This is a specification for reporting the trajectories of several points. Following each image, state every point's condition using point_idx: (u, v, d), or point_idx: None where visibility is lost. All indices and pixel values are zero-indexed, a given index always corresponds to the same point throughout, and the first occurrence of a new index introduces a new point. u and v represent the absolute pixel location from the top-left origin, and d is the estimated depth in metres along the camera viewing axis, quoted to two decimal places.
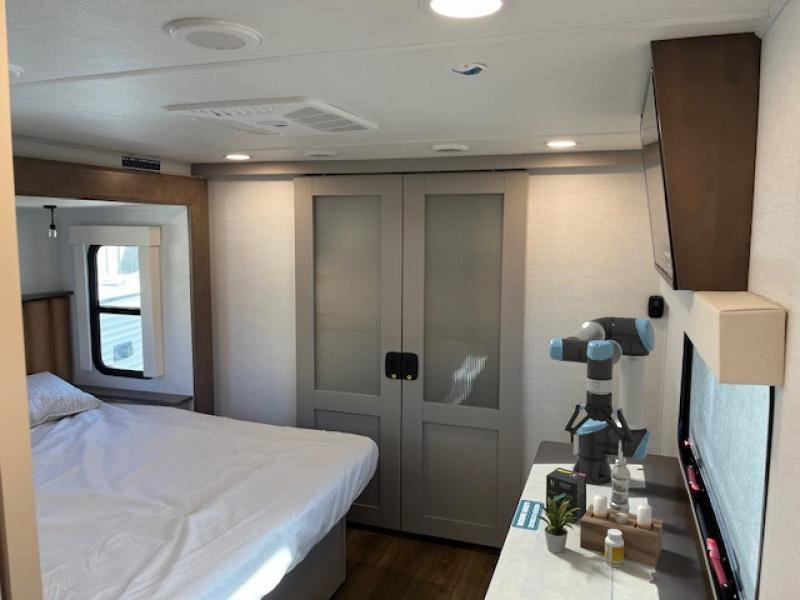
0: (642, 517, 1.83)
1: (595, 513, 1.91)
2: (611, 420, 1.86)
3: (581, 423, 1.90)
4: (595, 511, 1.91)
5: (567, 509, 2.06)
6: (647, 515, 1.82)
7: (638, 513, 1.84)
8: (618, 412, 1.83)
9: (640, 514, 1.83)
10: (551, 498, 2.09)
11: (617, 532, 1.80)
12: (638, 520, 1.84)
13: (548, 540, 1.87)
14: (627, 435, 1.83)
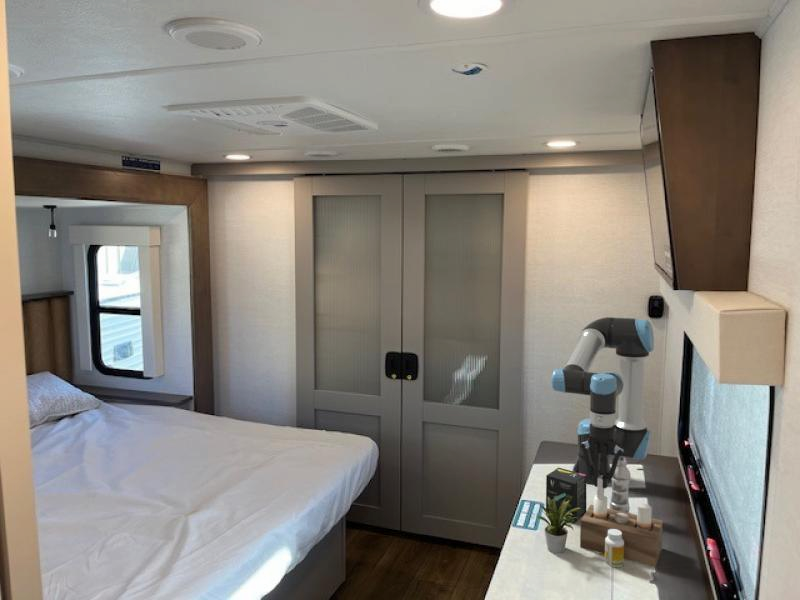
0: (642, 517, 1.83)
1: (595, 513, 1.91)
2: (607, 456, 1.88)
3: (596, 462, 1.89)
4: (595, 511, 1.91)
5: (567, 509, 2.06)
6: (647, 515, 1.82)
7: (638, 513, 1.84)
8: (619, 452, 1.85)
9: (640, 514, 1.83)
10: (551, 498, 2.09)
11: (617, 532, 1.80)
12: (638, 520, 1.84)
13: (548, 540, 1.87)
14: (611, 472, 1.87)
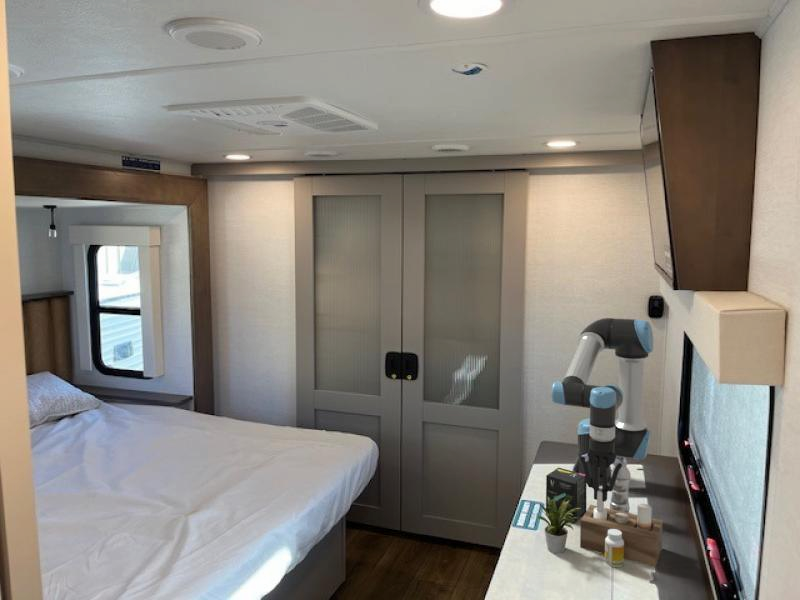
0: (642, 517, 1.83)
1: None
2: (607, 469, 1.88)
3: (596, 475, 1.90)
4: None
5: (567, 509, 2.06)
6: (647, 515, 1.82)
7: (638, 513, 1.84)
8: (619, 465, 1.85)
9: (640, 514, 1.83)
10: (551, 498, 2.09)
11: (617, 532, 1.80)
12: (638, 520, 1.84)
13: (548, 540, 1.87)
14: (611, 485, 1.87)
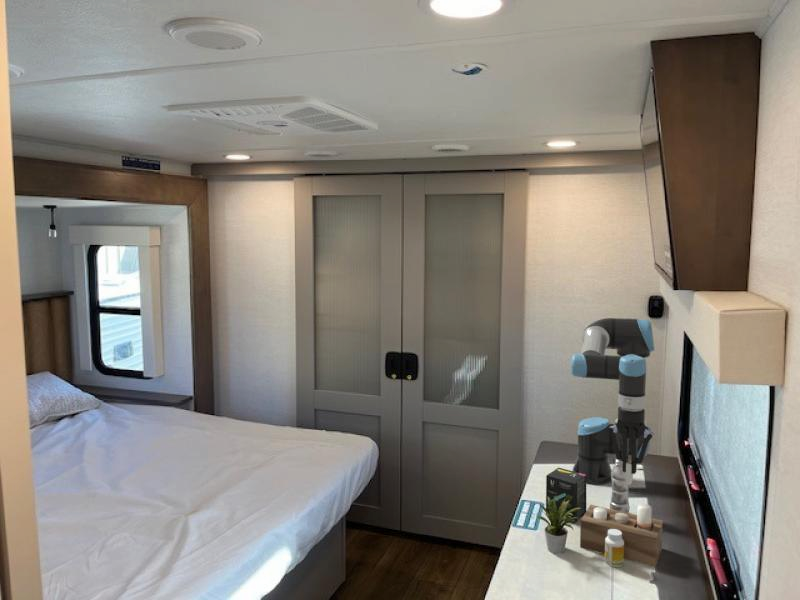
0: (642, 517, 1.83)
1: None
2: (636, 440, 1.82)
3: (624, 446, 1.84)
4: None
5: (567, 509, 2.06)
6: (647, 515, 1.82)
7: (638, 513, 1.84)
8: (649, 436, 1.79)
9: (640, 514, 1.83)
10: (551, 498, 2.09)
11: (617, 532, 1.80)
12: (638, 520, 1.84)
13: (548, 540, 1.87)
14: (640, 457, 1.81)
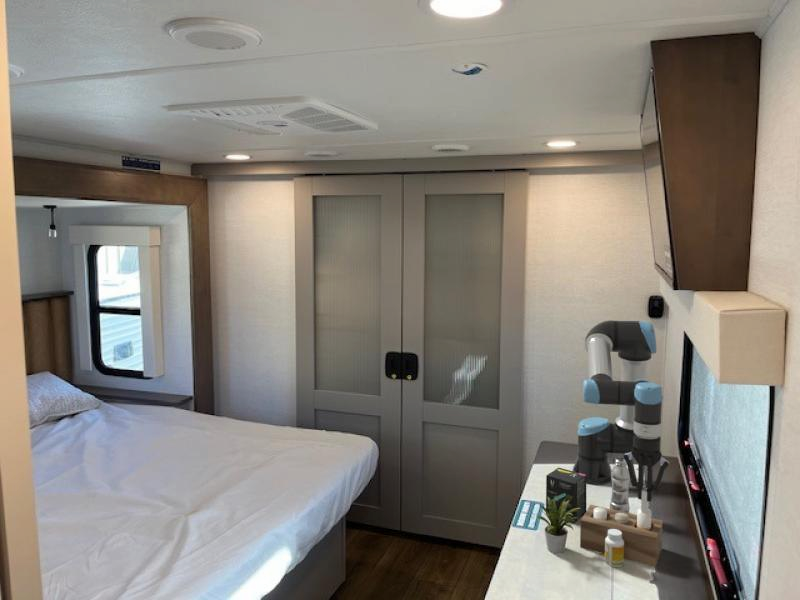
0: (642, 521, 1.83)
1: None
2: (652, 468, 1.81)
3: (640, 474, 1.82)
4: None
5: (567, 509, 2.06)
6: (647, 519, 1.83)
7: (638, 517, 1.84)
8: (665, 464, 1.78)
9: (640, 518, 1.83)
10: (551, 498, 2.09)
11: (617, 532, 1.80)
12: (638, 524, 1.84)
13: (548, 540, 1.87)
14: (656, 485, 1.80)
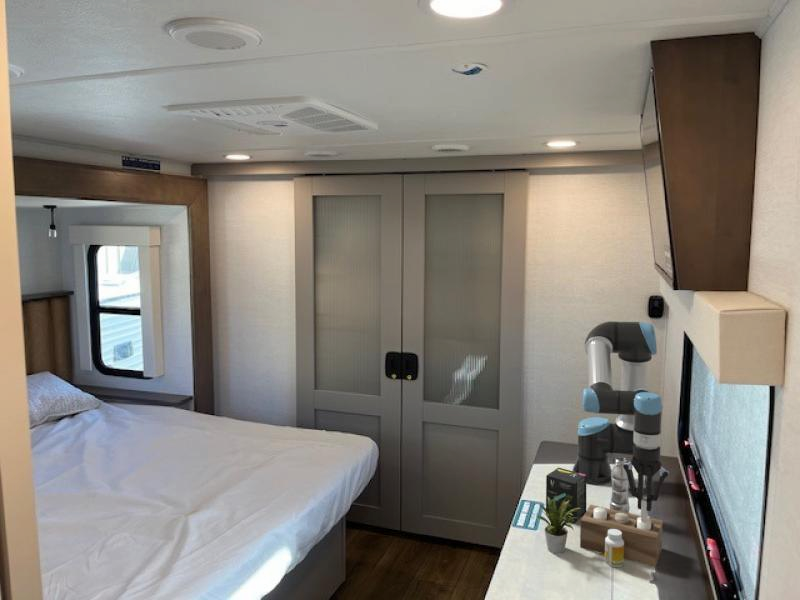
0: None
1: None
2: (652, 477, 1.82)
3: (640, 484, 1.83)
4: None
5: (567, 509, 2.06)
6: (647, 529, 1.83)
7: (638, 526, 1.85)
8: (665, 474, 1.79)
9: (640, 527, 1.84)
10: (551, 498, 2.09)
11: (617, 532, 1.80)
12: None
13: (548, 540, 1.87)
14: (656, 494, 1.81)
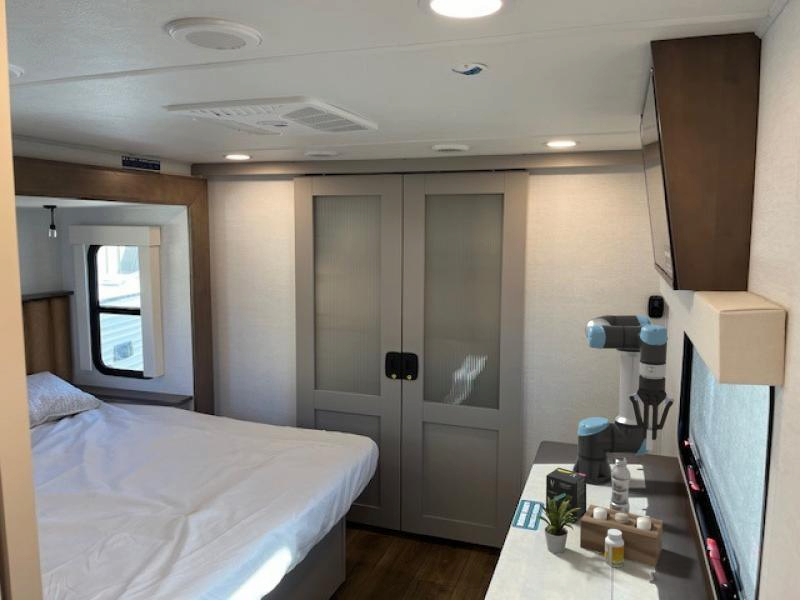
0: None
1: None
2: (657, 407, 1.87)
3: (645, 413, 1.88)
4: None
5: (567, 509, 2.06)
6: (647, 529, 1.83)
7: (638, 526, 1.85)
8: (670, 403, 1.84)
9: (640, 527, 1.84)
10: (551, 498, 2.09)
11: (617, 532, 1.80)
12: None
13: (548, 540, 1.87)
14: (661, 423, 1.86)
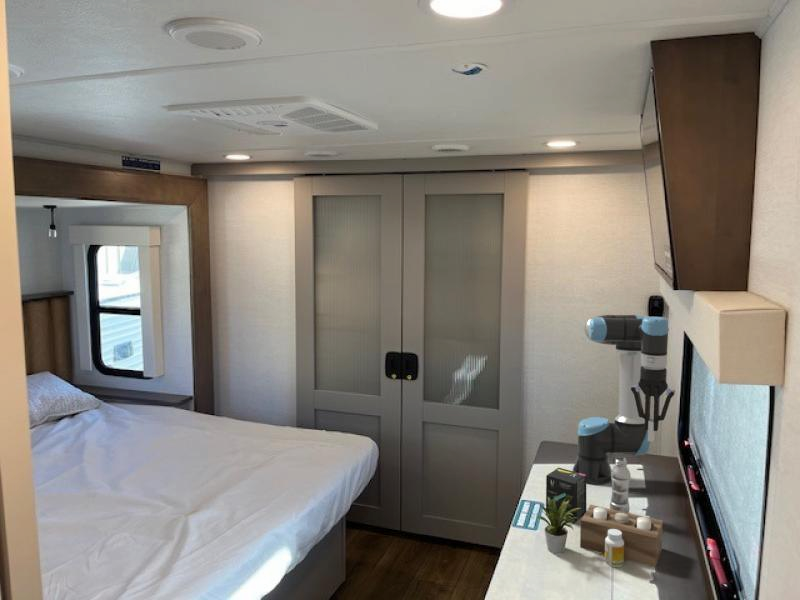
0: None
1: None
2: (658, 398, 1.88)
3: (647, 405, 1.90)
4: None
5: (567, 509, 2.06)
6: (647, 529, 1.83)
7: (638, 526, 1.85)
8: (671, 393, 1.85)
9: (640, 527, 1.84)
10: (551, 498, 2.09)
11: (617, 532, 1.80)
12: None
13: (548, 540, 1.87)
14: (662, 414, 1.88)
